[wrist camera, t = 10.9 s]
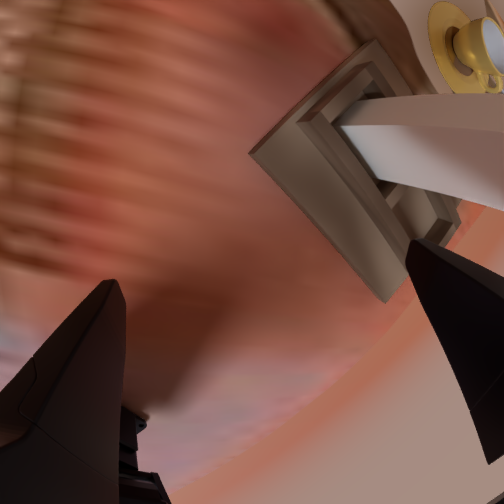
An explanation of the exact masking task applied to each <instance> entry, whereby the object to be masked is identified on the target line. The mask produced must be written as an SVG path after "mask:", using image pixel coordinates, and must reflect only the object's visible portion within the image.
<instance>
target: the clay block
mask: <svg viewBox="0 0 504 504" xmlns="http://www.w3.org/2000/svg"><path fill="white" fill-rule="evenodd" d="M333 127H334V129H335V130H336V131H337V133H338V134H339V135H340V137H341V138H342V139H343V140H344V142H345V143H346V144H347V146H348V147H349V148H350V150H351V151H352V153H353V154H354V155H355V157H356V158H357V159H358V161H359V162H360V164H361V165H362V166H363V168H364V169H365V171H366V172H367V174H368V175H369V176H370V177H372V178H376V179H381V180H386V181H391V182H395V183H400V184H404V185H409V186H413V187H417V188H422V189H426V190H430V191H434V192H438V193H442V194H446V195H450V196H453V197H457V198H461V199H464V200H468V201H472V202H475V203H479V204H482V205H485V206H489V207H492V208H495V209H499V210H502V211H504V94H489V93H458V94H429V95H413V96H400V97H389V98H379V99H370V100H361V101H356V102H355V103H354V104H353V105H352V106H351V107H350V108H349V109H348V110H347V111H346V112H345V113H344V114H343V115H342V116H341V118H340V119H339V120H338V121H337V122H336V123H335V124H334V125H333Z"/></svg>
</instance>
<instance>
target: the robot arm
mask: <svg viewBox="0 0 504 504" xmlns="http://www.w3.org/2000/svg"><path fill="white" fill-rule="evenodd" d="M405 266H406V269H407V271H408V274H409V276H410V278H411V281H412V283H413V285H414V288H415V290H416V293H417V295H418V298H419V300H420V302H421V304H422V306H423V309H424V311H425V313H426V315H427V317H428V318H429V321H430V323H431V325H432V326H433V329H434V331H435V333H436V335H437V337H438V339H439V341H440V343H441V345H442V347H443V350H444V352H445V354H446V356H447V358H448V361H449V363H450V365H451V367H452V369H453V372H454V374H455V376H456V379H457V381H458V383H459V386H460V388H461V390H462V393H463V396H464V398H465V401H466V403H467V406H468V408H469V410H470V414H471V417H472V419H473V422H474V425H475V427H476V430H477V433H478V436H479V439H480V442H481V445H482V448H483V451H484V454H485V458H486V461H487V463H488V465H490V464H491V463H493V462H494V461H496V460H497V459H499V458H500V457H501V456H503V455H504V277H502V276H500V275H498V274H496V273H494V272H492V271H491V270H489V269H487V268H485V267H483V266H481V265H479V264H476V263H475V262H473V261H471V260H468V259H466V258H464V257H462V256H460V255H458V254H456V253H454V252H452V251H450V250H448V249H446V248H443V247H441V246H439V245H437V244H435V243H433V242H430V241H428V240H426V239H424V238H417V239H412V240H411V241H410V243H409V247H408V251H407V254H406V258H405ZM125 353H126V302H125V299H124V296H123V294H122V291H121V289H120V286H119V283H118V282H117V280H115V279H109V280H103V281H102V282H101V283H100V284H99V285H98V286H97V287H96V288H95V289H94V290H93V291H92V292H91V293H90V294H89V295H88V296H87V297H86V298H85V299H84V300H83V301H82V302H81V303H80V304H79V305H78V306H77V307H76V308H75V309H74V311H73V312H72V313H71V314H70V315H69V316H68V317H67V318H66V319H65V320H64V321H63V322H62V323H61V325H60V326H59V327H58V328H57V329H56V330H55V331H54V332H53V333H52V334H51V336H50V337H49V338H48V339H47V340H46V341H45V342H44V343H43V344H42V346H41V347H40V348H39V349H38V350H37V351H36V352H35V354H34V355H33V357H31V358H30V359H29V361H28V362H27V363H26V364H25V365H24V366H23V368H22V369H21V370H20V371H19V372H18V373H17V374H16V376H15V377H14V378H13V379H12V380H11V381H10V382H9V383H8V384H7V385H6V386H5V387H4V388H3V390H2V391H1V392H0V504H171V502H170V499H169V497H168V495H167V493H166V491H165V489H164V486H163V484H162V482H161V480H160V477H159V475H158V473H154V472H150V473H148V472H142V471H138V463H137V454H136V451H137V450H138V443H137V434H138V433H139V432H141V431H142V430H144V429H145V428H146V427H147V423H146V421H145V420H144V419H142V418H140V417H139V416H137V415H135V414H134V413H132V412H130V411H129V410H127V409H126V408H124V407H122V406H121V397H122V384H123V373H124V364H125ZM487 504H504V492H503V493H502V494H500V495H499V496H497V497H496V498H494V499H493V500H491V501H490V502H488V503H487Z"/></svg>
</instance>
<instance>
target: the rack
mask: <svg viewBox="0 0 504 504" xmlns="http://www.w3.org/2000/svg"><path fill="white" fill-rule="evenodd" d="M400 96H413V93H412V92H411V90H410V88H409V87H408V85H407V84H406V82H405V80H404V79H403V77H402V76H401V74H400V73H399V71H398V70H397V68H396V67H395V65H394V64H393V62H392V61H391V59H390V58H389V56H388V55H387V53H386V52H385V51H384V49H383V48H382V46H381V45H380V44H379V42H378V41H377V40H376V39H374V40H370V41H367V42H366V43H365V44H363V45H362V46H361V47H360V48H359V49H358V50H357V51H355V52H354V53H353V54H352V55H351V56H350V57H349V58H347V59H346V60H345V61H344V62H343V63H342V64H341V65H340V66H338V67H337V68H336V69H335V70H334V71H333V72H332V73H331V74H330V75H328V76H327V77H326V78H325V79H324V80H323V81H322V82H321V83H320V84H319V85H318V86H317V87H315V88H314V89H313V90H312V91H311V92H310V93H309V94H308V95H307V96H306V97H305V98H304V99H303V100H302V101H301V102H300V103H298V104H297V105H296V106H295V107H294V108H293V109H292V110H291V111H290V112H289V113H288V114H287V115H286V116H285V117H284V118H283V119H282V120H281V121H280V122H279V123H278V124H277V125H276V126H275V127H274V128H273V129H272V130H271V131H270V132H269V133H268V134H267V135H266V136H265V137H264V138H263V139H262V140H261V141H260V142H259V143H258V144H257V145H256V146H255V147H254V148H253V149H252V150H251V151H250V152H249V153H248V154H249V155H250V156H251V157H252V158H253V159H254V160H255V161H256V162H257V163H258V164H259V165H260V166H261V167H262V168H263V169H264V171H265V172H266V173H267V174H268V175H269V176H270V177H271V178H272V179H273V180H274V181H275V182H276V183H277V184H278V185H279V186H280V187H281V189H282V190H283V191H284V192H285V193H286V194H287V195H288V196H289V197H290V198H291V199H292V200H293V201H294V203H295V204H296V205H297V206H298V207H299V208H300V209H301V210H302V211H303V212H304V213H305V215H306V216H307V217H308V218H309V219H310V220H311V221H312V222H313V223H314V225H315V226H316V227H317V228H318V229H319V230H320V231H321V232H322V234H323V235H324V236H325V237H326V238H327V239H328V240H329V242H330V243H331V244H332V245H333V246H334V247H335V248H336V250H337V251H338V252H339V253H340V254H341V255H342V257H343V258H344V259H345V260H346V261H347V262H348V264H349V265H350V266H351V267H352V268H353V269H354V271H355V272H356V273H357V274H358V275H359V277H360V278H361V279H362V280H363V281H364V283H365V284H366V285H367V286H368V287H369V289H370V290H371V291H372V292H373V293H374V295H375V296H376V297H377V298H378V299H379V300H381V301H382V302H384V303H385V304H386V302H387V301H388V300H389V299H390V297H391V296H392V295H393V294H394V293H395V291H396V290H397V289H398V288H399V286H400V285H401V284H402V283H403V281H404V280H405V279H406V278H407V276H408V275H409V274H408V271H407V269H406V266H405V258H406V254H407V251H408V247H409V243H410V241H411V240H412V239H417V238H424V239H426V240H428V241H430V242H433V243H435V244H437V245H439V246H441V247H443V248H445V246H446V245H447V244H448V242H449V241H450V239H451V238H452V236H453V235H454V233H455V232H456V230H457V229H458V227H459V226H460V224H461V220H460V218H459V215H458V213H457V210H456V208H457V206H458V205H459V203H460V202H461V200H462V199H461V198H457V197H453V196H450V195H446V194H442V193H438V192H434V191H430V190H426V189H422V188H417V187H413V186H409V185H404V184H400V183H395V182H391V181H386V180H381V179H376V178H372V177H370V176H369V175H368V174H367V172H366V171H365V169H364V168H363V166H362V165H361V164H360V162H359V161H358V159H357V158H356V157H355V155H354V154H353V153H352V151H351V150H350V148H349V147H348V146H347V144H346V143H345V142H344V140H343V139H342V138H341V137H340V135H339V134H338V133H337V131H336V130H335V129H334V127H333V125H334V124H335V123H336V122H337V121H338V120H339V119H340V118H341V116H342V115H343V114H344V113H345V112H346V111H347V110H348V109H349V108H350V107H351V106H352V105H353V104H354V103H355V102H356V101H361V100H370V99H379V98H389V97H400Z"/></svg>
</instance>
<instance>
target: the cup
mask: <svg viewBox="0 0 504 504" xmlns="http://www.w3.org/2000/svg"><path fill="white" fill-rule="evenodd" d="M428 34H429V40H430V44H431V48H432V52H433V55H434V57H435V60H436V63H437V65H438V67H439V69H440V71H441V73H442V75H443V77H444V79H445V81H446V82H447V84H448V85H449V86H450V88H451V89H452V90H453V91H454V93H455V94H458V93H485V92H486V91H487V92H490V93H494V94H496V93H500V92H501V91H502V89H503V82H502V78H501V77H504V34H503V32H502V30H501V29H500V27H499V26H498V24H497V23H496V22H495V21H494V20H493V19H491V18H490V17H483V18H480V19H477V20H474V21H471V20H470V19H469V18H468V17H467V16H466V15H465V14H464V12H463V11H461V10H460V9H459V8H458V7H456V6H455V5H453V4H451V3H449V2H445V1H441V2H437V3H435V4H434V5H433V6H432V8H431V9H430V12H429V16H428ZM456 56H457V58H458V59H459V60H460V62H461V63H462V64H464V65H465V66H467V67H469V68H471V69H473V70H474V71H473V73H472V74H471V75H470V76H464V75H462V74H461V73H459V72H458V70H457V69H456V68H455V67H454V65H453V63H454V60H455V57H456ZM489 75H492V76H493V77H494V78H495V81H496V87H495V88H494V87H491V86H490V85H489V84H488V78H489Z"/></svg>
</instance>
